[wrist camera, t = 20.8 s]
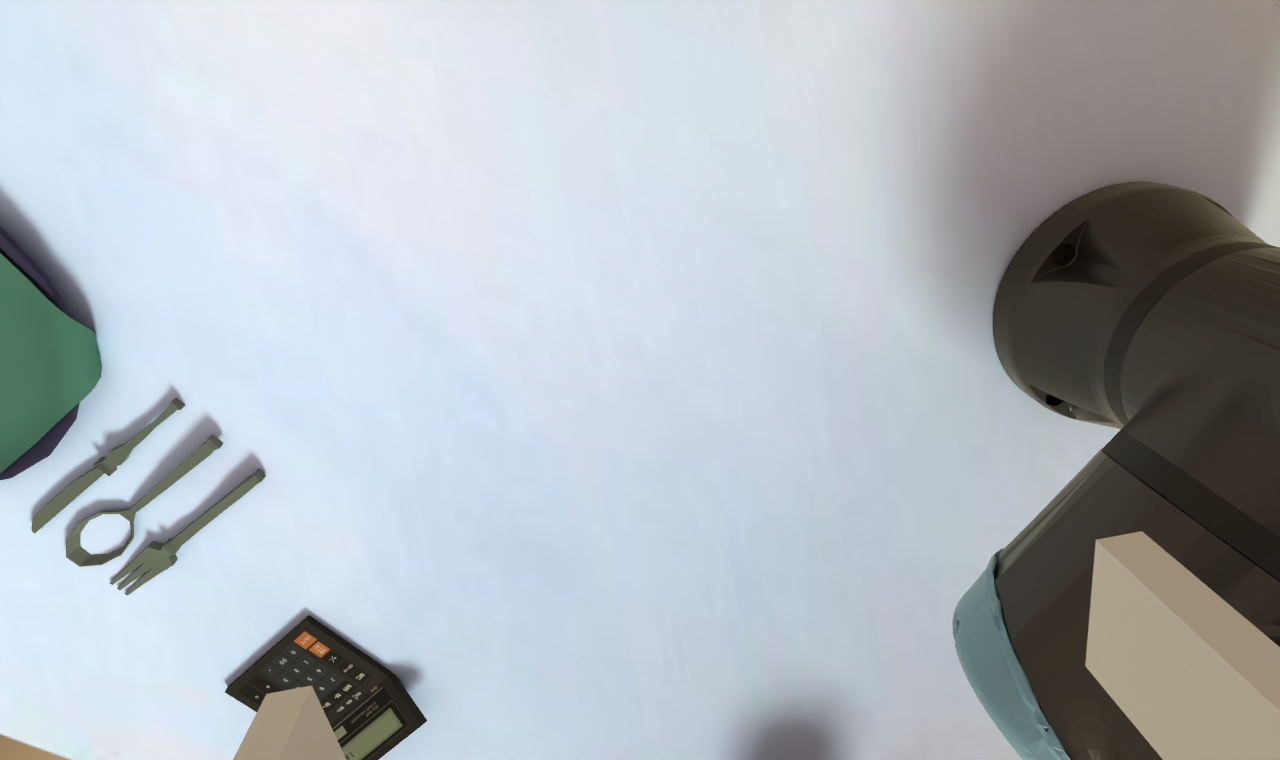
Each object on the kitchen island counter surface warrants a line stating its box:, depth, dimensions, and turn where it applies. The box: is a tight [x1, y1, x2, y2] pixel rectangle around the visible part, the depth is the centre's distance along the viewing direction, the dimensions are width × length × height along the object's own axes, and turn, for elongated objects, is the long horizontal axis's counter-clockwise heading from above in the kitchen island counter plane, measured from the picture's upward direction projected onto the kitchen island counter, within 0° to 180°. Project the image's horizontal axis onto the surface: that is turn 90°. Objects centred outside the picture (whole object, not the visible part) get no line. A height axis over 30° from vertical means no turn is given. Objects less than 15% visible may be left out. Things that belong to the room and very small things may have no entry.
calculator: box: [225, 616, 427, 760], centre depth 56 cm, size 9×12×3 cm
